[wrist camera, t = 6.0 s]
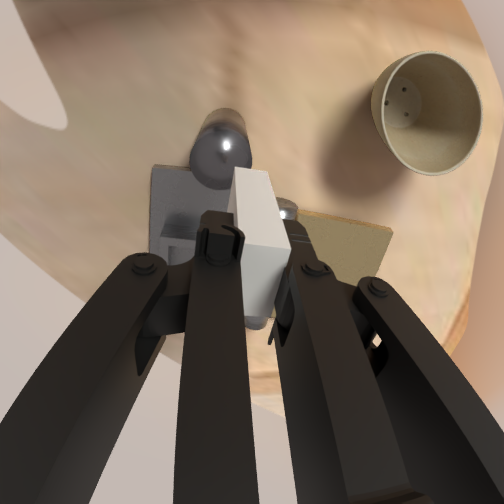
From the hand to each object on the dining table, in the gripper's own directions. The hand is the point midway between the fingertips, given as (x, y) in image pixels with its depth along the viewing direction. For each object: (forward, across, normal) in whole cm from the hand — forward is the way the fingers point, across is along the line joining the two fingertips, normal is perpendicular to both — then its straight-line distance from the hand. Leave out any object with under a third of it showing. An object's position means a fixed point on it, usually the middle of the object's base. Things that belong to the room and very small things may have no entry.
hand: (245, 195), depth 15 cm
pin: (+14, -1, 0) cm, 14 cm away
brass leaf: (+13, +10, -13) cm, 21 cm away
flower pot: (+14, +14, +6) cm, 21 cm away
